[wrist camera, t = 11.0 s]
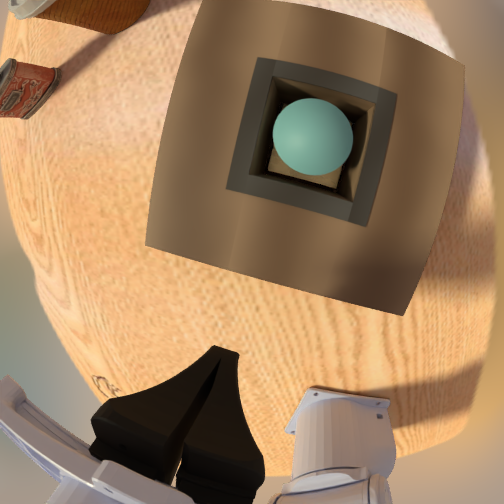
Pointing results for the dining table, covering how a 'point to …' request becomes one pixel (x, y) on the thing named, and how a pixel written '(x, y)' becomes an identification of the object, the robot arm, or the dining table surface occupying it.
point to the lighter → (25, 88)
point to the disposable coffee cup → (83, 12)
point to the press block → (295, 193)
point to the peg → (312, 136)
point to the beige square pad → (281, 167)
